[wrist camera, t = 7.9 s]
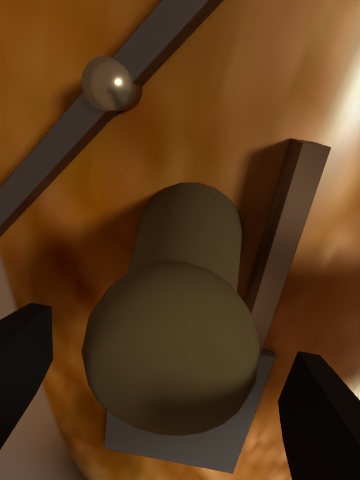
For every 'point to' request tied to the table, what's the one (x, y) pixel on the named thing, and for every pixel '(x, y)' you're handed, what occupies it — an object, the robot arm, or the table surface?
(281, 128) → the table surface
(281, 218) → the rail
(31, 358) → the robot arm
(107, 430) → the mat
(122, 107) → the bar
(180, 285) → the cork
